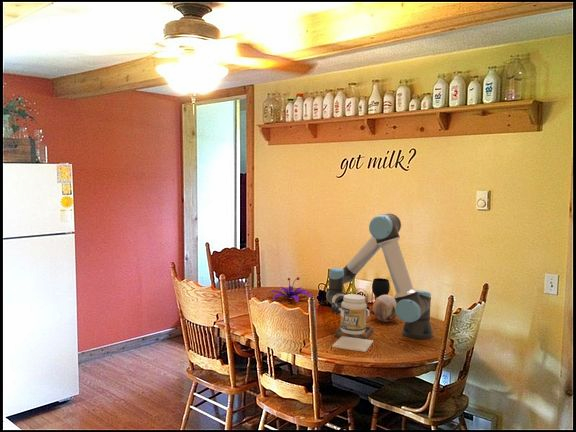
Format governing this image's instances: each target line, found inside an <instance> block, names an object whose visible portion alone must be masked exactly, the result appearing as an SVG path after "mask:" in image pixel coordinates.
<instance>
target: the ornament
mask: <svg viewBox="0 0 576 432" xmlns="http://www.w3.org/2000/svg"><path fill="white" fill-rule="evenodd" d="M394 297H395V296H393V295H390V294H388V295H381V296H379V297H378V298H377V297H376V298H375V300H374V301H373V305H372V311H373V312H374V316H375V318H377V319H378V320H379V321H381V322H385V323H387V322H392V321H395V319H397V318H398V316H397V314H396V311H395V308H396V301H395V298H394Z"/></svg>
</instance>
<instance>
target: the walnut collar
mask: <svg viewBox="0 0 576 432" xmlns="http://www.w3.org/2000/svg"><path fill="white" fill-rule="evenodd" d="M373 332H374V326H368V325H366V329H365V332H364V333H362V334H347V333H344V332H342V331H341V329H340V326H338V327H337V329H335V330H334V337H338V338H340V337H341V336H345V337H352V338H359V339H367V340H368V339H369V337H370V336H371V335H372V334H373Z"/></svg>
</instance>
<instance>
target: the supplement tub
mask: <svg viewBox="0 0 576 432" xmlns="http://www.w3.org/2000/svg"><path fill="white" fill-rule="evenodd" d="M343 295H344V298H343V300H344V301H343V302H342V304H341V309H342V310H343V311H344V317H342V316H341V315H340V325H339V327H340V329H341V331H342V332H344V333H347V334H365V333H366V331H365V329H366V326H367V324H366V323H367V315H366V310H367V306H368V304H367V303H366V296H365V295H361V294H356V293H355V294H353V293H350V294H348V293H347V294H343Z"/></svg>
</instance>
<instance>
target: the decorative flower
mask: <svg viewBox="0 0 576 432" xmlns="http://www.w3.org/2000/svg"><path fill="white" fill-rule="evenodd" d="M287 281H289V283H288V287H283V286H279V288H280V290H270V292H268V294H270V293H277V294H274V296H273V297H272V301H273V300H276V299H277V298H279V297H283V296H284V297H285V298H287V299H289V298H293V300H295V302H297V303H298V302H299V299H300V297H299V295H307V296H308V297H310V298H311V297H313V296H312V295H311V294H310V292H309V291H308V290H307V289H302V288H303V287H302V286H300V287H297V288H296V289H294V286H293V285H294V283H295V282H296V281H300V277H299V276H297V277H296V279H295V280H294V281H293V283H292V285H291V278H290V277H288V278H287ZM268 294H267V295H268Z"/></svg>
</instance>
